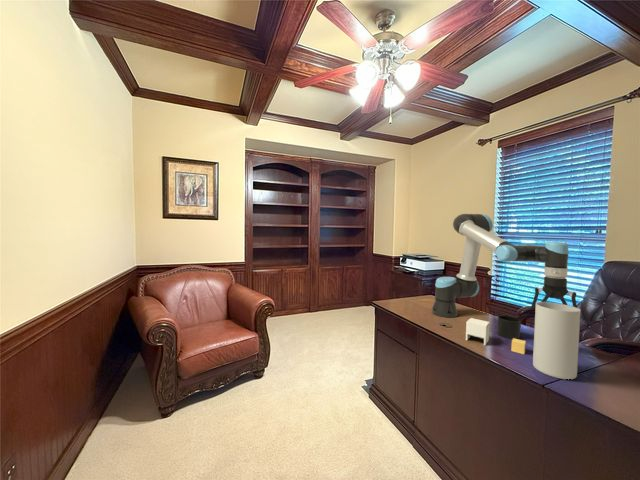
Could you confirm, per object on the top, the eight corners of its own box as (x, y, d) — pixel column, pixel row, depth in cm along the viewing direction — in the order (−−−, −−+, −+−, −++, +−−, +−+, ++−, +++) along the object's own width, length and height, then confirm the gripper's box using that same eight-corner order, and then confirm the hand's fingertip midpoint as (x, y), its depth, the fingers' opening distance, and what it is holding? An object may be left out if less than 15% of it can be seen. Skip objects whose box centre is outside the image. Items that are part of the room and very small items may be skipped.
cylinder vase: (524, 365, 104) (527, 303, 103) (546, 361, 107) (549, 301, 107) (562, 383, 92) (565, 312, 91) (585, 377, 96) (588, 310, 95)
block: (512, 347, 120) (513, 338, 120) (525, 351, 117) (525, 341, 116) (511, 351, 116) (511, 341, 116) (524, 354, 113) (524, 344, 113)
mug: (529, 338, 130) (529, 320, 130) (508, 340, 128) (509, 321, 128) (511, 331, 140) (512, 314, 139) (492, 332, 137) (493, 315, 137)
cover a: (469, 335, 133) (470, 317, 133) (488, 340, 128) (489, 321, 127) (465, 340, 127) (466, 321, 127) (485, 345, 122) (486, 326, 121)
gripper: (524, 275, 120) (522, 324, 120) (590, 281, 105) (587, 337, 106) (526, 273, 125) (524, 320, 126) (588, 279, 111) (586, 332, 112)
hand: (553, 327), depth 116 cm, fingers closed on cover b, 8 cm apart
